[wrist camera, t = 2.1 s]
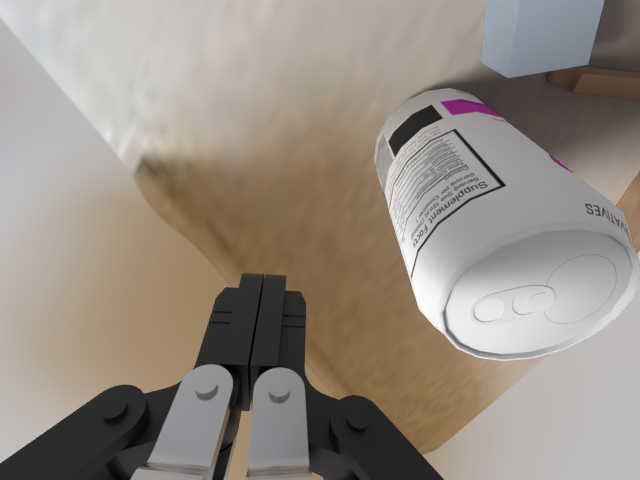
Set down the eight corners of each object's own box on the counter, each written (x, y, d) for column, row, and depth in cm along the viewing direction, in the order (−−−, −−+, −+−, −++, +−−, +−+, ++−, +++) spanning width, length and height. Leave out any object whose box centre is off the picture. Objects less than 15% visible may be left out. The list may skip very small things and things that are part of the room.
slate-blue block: (488, -16, 20) (521, -13, 17) (564, -31, 19) (612, -31, 16) (480, 63, 22) (508, 78, 19) (548, 50, 22) (588, 64, 19)
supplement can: (488, 67, 22) (691, 177, 10) (492, 180, 27) (634, 348, 15) (361, 108, 24) (408, 247, 12) (386, 209, 28) (437, 383, 16)
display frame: (553, 62, 22) (582, 73, 20) (718, 80, 23) (765, 93, 20) (482, 223, 29) (497, 245, 27) (609, 233, 30) (634, 255, 28)
